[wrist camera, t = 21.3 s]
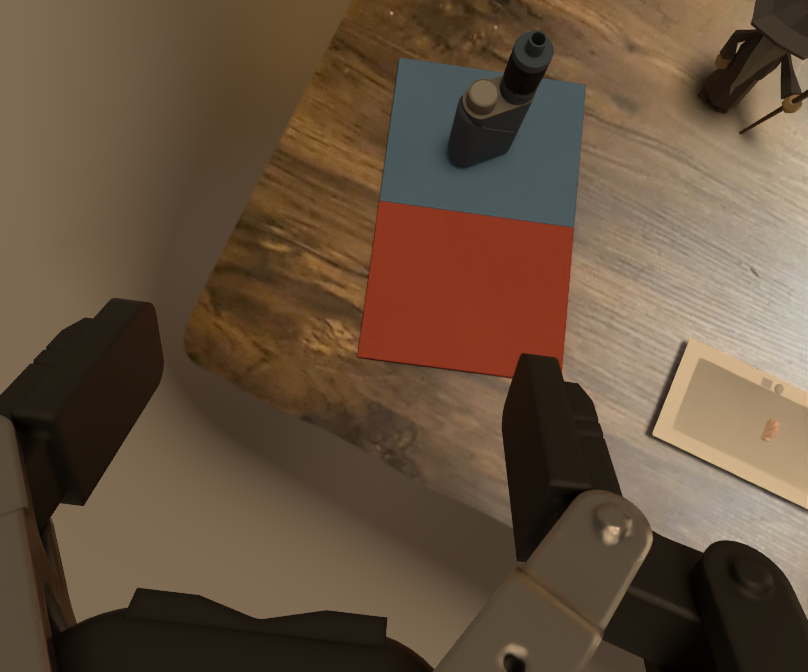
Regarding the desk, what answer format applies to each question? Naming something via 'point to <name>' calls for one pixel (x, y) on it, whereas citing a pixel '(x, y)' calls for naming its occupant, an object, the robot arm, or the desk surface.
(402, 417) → the desk surface
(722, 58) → the wizard figurine
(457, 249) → the sorting mat
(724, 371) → the touchpad
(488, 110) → the vaping device
